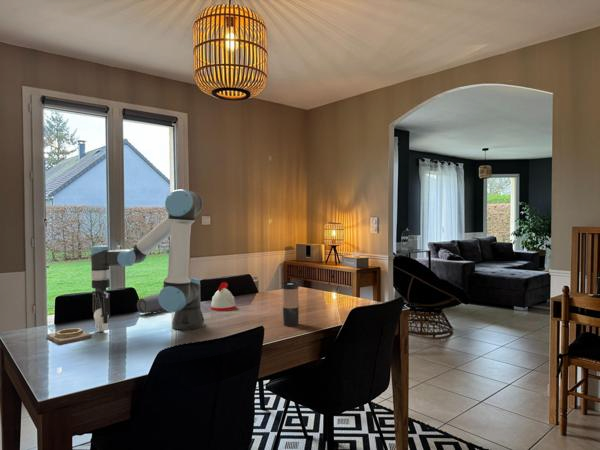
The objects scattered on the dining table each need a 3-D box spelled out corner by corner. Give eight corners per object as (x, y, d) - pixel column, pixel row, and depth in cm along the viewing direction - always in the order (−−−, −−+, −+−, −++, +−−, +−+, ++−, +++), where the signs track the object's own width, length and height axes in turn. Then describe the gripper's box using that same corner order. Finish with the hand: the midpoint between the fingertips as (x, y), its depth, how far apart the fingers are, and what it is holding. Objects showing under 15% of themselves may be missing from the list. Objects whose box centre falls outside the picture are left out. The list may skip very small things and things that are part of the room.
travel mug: (301, 323, 206) (300, 282, 206) (295, 327, 199) (295, 284, 199) (286, 322, 209) (285, 281, 208) (280, 326, 202) (280, 284, 201)
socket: (92, 337, 186) (92, 331, 186) (59, 344, 176) (59, 337, 176) (78, 331, 197) (78, 325, 197) (46, 337, 187) (46, 331, 187)
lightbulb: (97, 330, 199) (96, 307, 199) (111, 329, 199) (110, 306, 199) (91, 334, 192) (91, 309, 192) (106, 333, 193) (105, 309, 193)
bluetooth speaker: (147, 316, 227) (147, 297, 227) (136, 314, 232) (136, 296, 231) (180, 308, 246) (180, 291, 246) (169, 307, 251) (169, 290, 251)
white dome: (240, 307, 247) (239, 281, 247) (225, 311, 235) (225, 284, 235) (221, 305, 254) (220, 280, 254) (205, 309, 242) (205, 283, 241)
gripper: (117, 279, 192) (119, 330, 192) (100, 276, 205) (101, 324, 205) (101, 281, 186) (102, 334, 186) (83, 278, 199) (84, 327, 199)
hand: (101, 328), depth 196 cm, fingers closed on lightbulb, 6 cm apart
